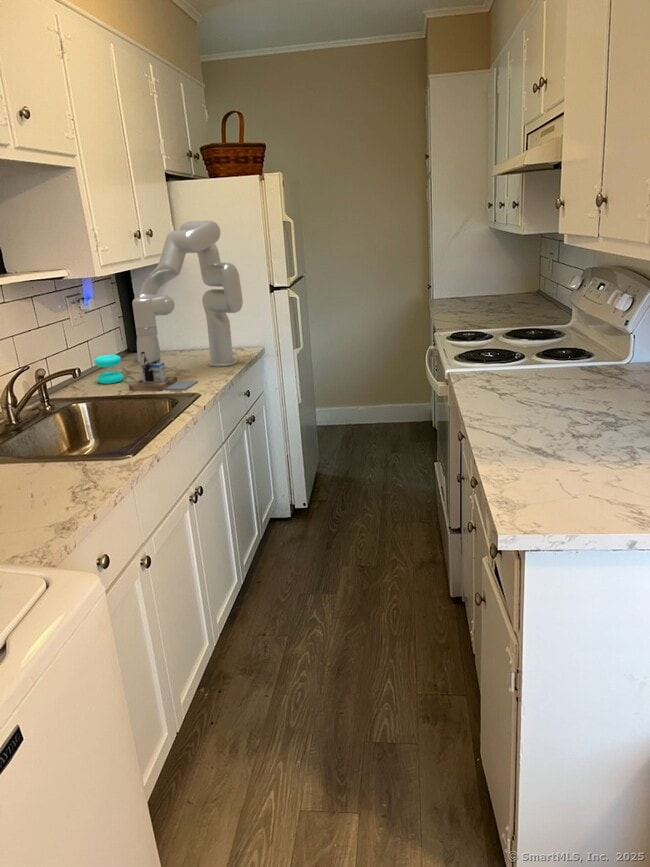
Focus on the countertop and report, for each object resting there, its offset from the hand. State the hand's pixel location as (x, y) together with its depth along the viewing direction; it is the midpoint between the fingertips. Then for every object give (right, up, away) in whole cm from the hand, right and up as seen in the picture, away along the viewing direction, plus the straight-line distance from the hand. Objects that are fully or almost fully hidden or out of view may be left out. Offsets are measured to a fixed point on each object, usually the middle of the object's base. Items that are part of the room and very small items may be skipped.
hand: (153, 378), depth 247 cm
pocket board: (0, -3, +1) cm, 3 cm away
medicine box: (+1, -3, +1) cm, 3 cm away
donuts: (-20, 0, +11) cm, 23 cm away
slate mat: (+11, -3, -2) cm, 12 cm away
